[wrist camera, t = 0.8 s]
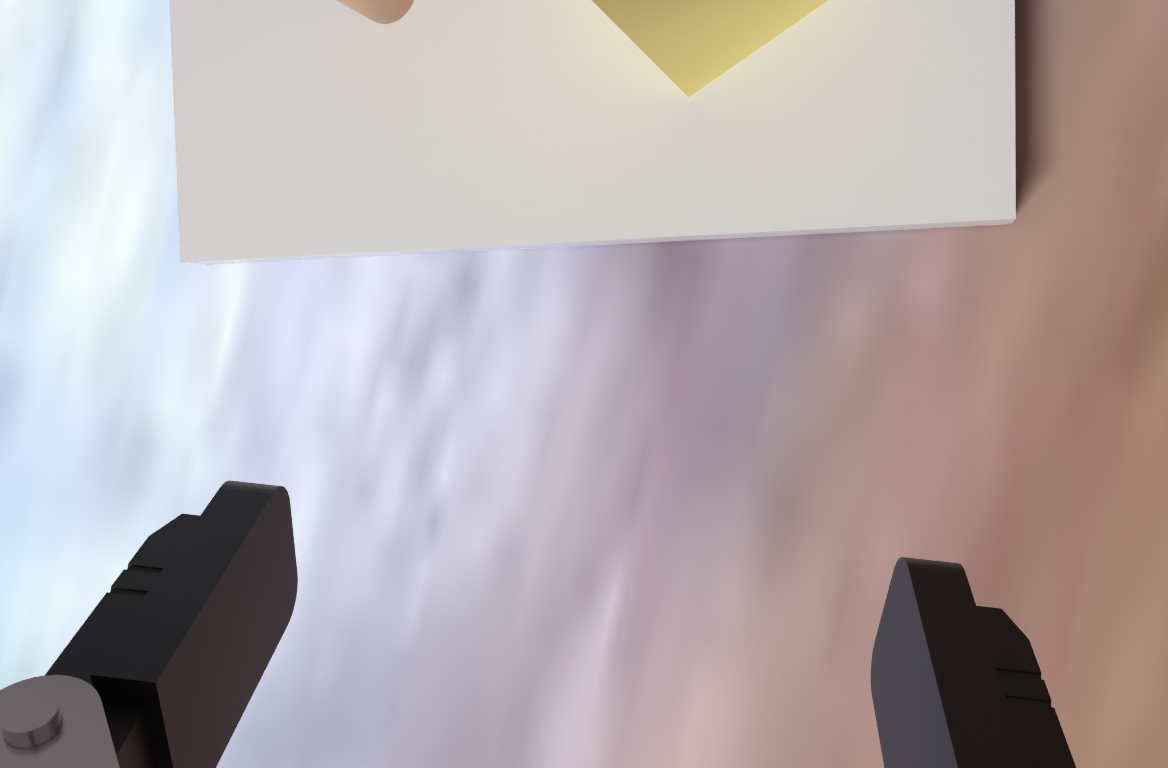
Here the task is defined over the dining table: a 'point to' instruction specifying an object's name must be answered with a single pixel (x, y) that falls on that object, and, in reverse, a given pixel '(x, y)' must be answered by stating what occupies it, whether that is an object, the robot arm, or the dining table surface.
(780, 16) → the tall yellow stud brick
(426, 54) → the plate
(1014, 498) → the dining table surface
